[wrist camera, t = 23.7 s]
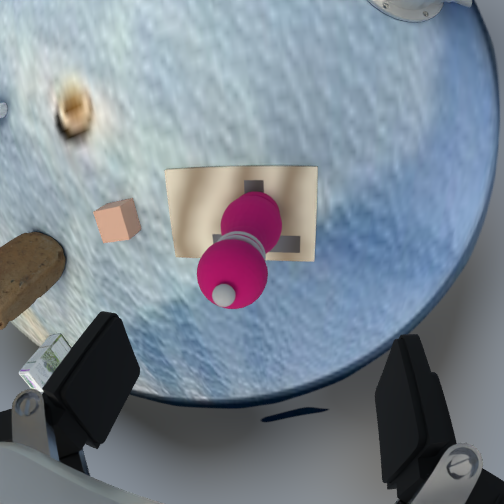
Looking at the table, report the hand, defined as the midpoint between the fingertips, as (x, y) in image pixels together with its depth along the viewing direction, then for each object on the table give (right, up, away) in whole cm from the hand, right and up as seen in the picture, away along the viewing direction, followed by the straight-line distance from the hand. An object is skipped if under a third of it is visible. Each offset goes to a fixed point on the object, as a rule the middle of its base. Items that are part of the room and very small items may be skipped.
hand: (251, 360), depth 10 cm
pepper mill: (+1, +9, +31) cm, 32 cm away
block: (-39, +4, +40) cm, 56 cm away
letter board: (-1, +9, +32) cm, 33 cm away
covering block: (-19, +9, +35) cm, 41 cm away
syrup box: (-46, -18, +52) cm, 72 cm away
